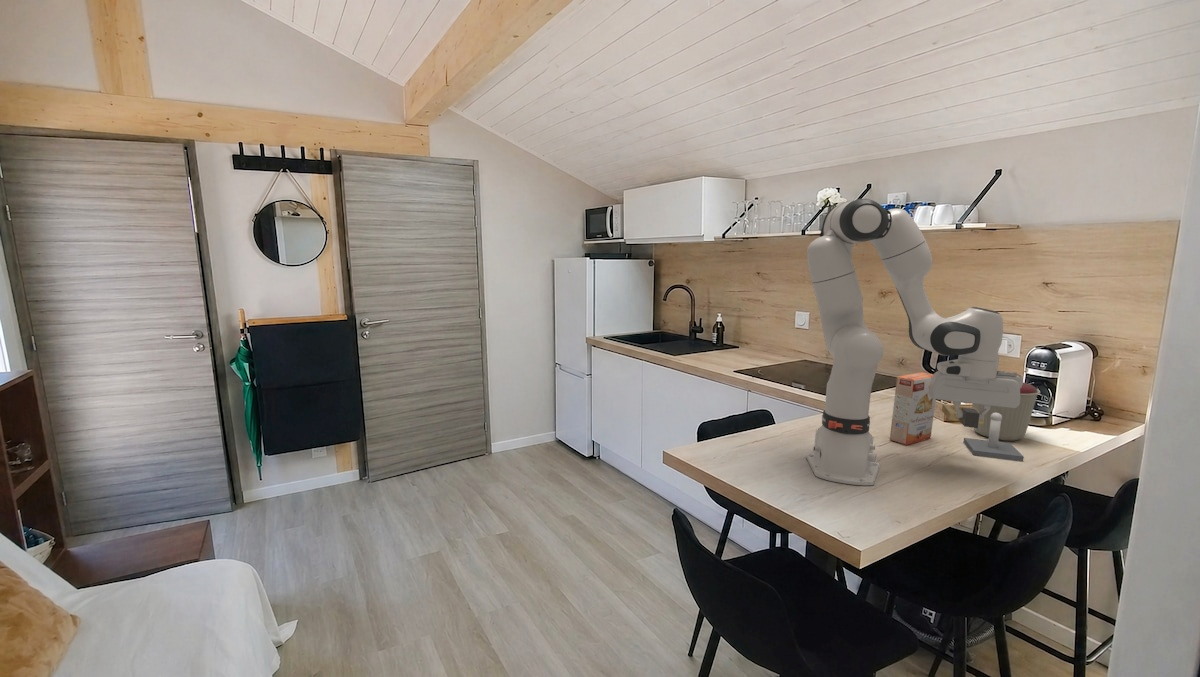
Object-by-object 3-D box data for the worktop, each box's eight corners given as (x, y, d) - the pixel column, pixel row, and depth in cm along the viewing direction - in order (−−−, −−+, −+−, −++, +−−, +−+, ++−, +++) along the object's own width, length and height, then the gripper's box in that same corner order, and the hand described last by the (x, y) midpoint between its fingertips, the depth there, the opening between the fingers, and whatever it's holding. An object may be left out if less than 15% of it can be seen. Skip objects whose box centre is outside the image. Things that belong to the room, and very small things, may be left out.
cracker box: (907, 446, 165) (915, 379, 161) (888, 440, 170) (895, 375, 166) (932, 438, 172) (940, 374, 169) (913, 433, 177) (920, 371, 174)
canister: (1048, 444, 168) (1058, 378, 165) (997, 446, 165) (1006, 379, 162) (997, 425, 186) (1005, 366, 182) (951, 428, 183) (958, 367, 180)
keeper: (1023, 461, 154) (1028, 421, 152) (973, 455, 158) (978, 415, 156) (1009, 447, 164) (1014, 409, 163) (963, 442, 169) (967, 405, 167)
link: (941, 410, 158) (943, 397, 158) (973, 414, 155) (975, 401, 155) (953, 425, 145) (955, 410, 144) (988, 429, 142) (991, 414, 141)
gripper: (1020, 370, 142) (1012, 421, 144) (930, 362, 150) (924, 410, 152) (1028, 375, 136) (1020, 428, 138) (935, 366, 144) (928, 416, 146)
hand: (969, 418), depth 145 cm, fingers closed on link, 3 cm apart
